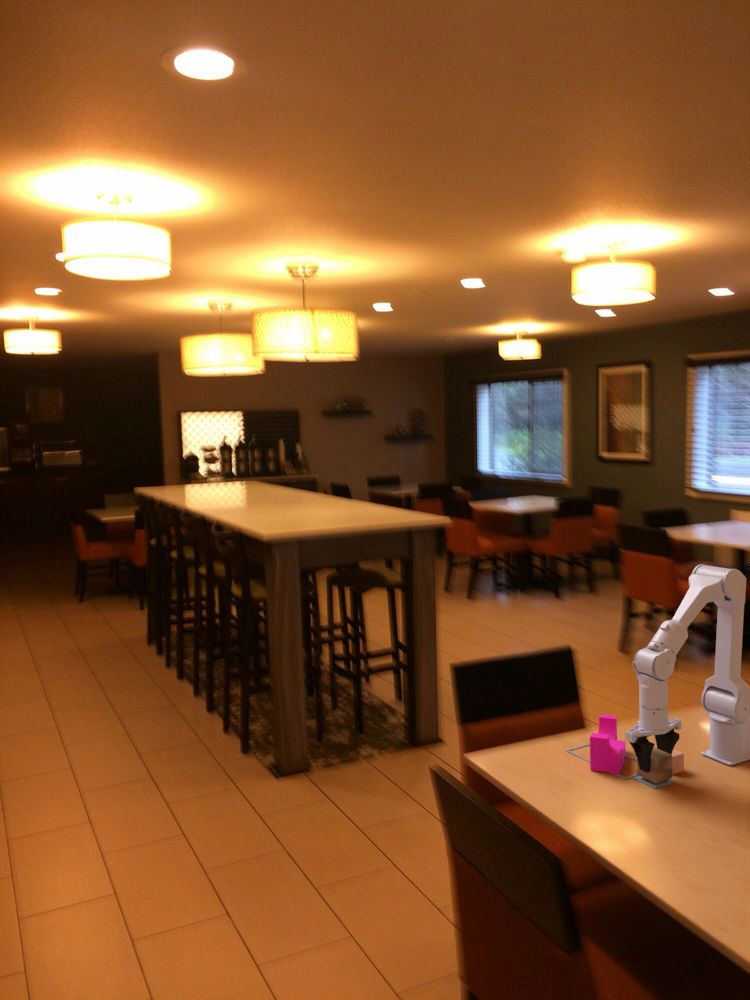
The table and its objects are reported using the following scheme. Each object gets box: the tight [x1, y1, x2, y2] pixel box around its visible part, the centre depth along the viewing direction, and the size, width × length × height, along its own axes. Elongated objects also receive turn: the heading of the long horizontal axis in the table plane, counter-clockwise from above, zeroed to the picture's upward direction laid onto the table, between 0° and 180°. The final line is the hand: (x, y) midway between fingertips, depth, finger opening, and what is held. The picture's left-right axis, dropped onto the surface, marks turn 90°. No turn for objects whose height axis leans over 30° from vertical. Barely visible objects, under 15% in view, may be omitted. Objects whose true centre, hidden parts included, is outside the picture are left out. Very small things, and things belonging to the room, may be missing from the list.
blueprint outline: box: [565, 743, 676, 790], centre depth 177 cm, size 10×25×1 cm, turn 28°
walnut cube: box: [636, 746, 673, 783], centre depth 168 cm, size 5×5×5 cm
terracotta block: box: [672, 748, 685, 775], centre depth 173 cm, size 4×4×4 cm
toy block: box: [589, 714, 627, 775], centre depth 179 cm, size 15×6×8 cm, turn 155°
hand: (654, 767), depth 168 cm, fingers closed on walnut cube, 5 cm apart
